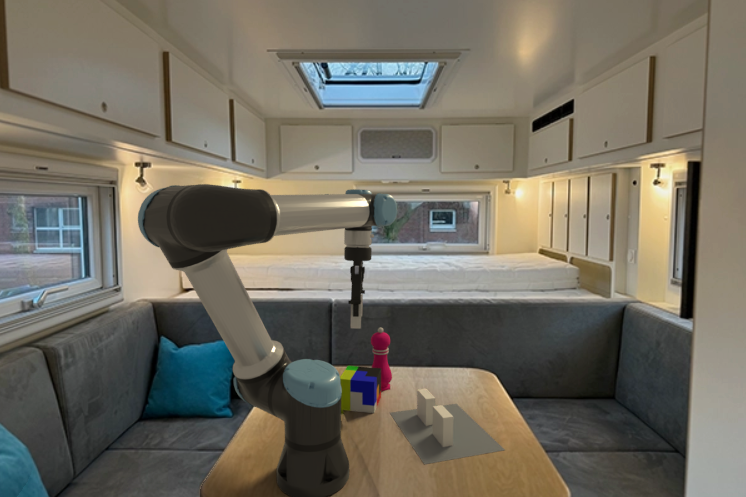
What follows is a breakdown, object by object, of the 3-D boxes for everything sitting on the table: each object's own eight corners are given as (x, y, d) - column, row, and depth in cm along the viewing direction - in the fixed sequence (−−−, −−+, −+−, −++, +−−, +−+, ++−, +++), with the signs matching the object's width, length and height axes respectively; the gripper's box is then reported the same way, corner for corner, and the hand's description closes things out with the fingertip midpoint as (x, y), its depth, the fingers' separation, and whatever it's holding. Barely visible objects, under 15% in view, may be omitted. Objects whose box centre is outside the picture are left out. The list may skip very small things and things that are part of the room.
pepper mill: (378, 383, 135) (378, 323, 133) (396, 389, 131) (397, 327, 129) (363, 390, 130) (364, 327, 128) (382, 397, 125) (382, 332, 123)
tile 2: (453, 445, 97) (453, 416, 97) (442, 447, 97) (443, 418, 96) (442, 432, 103) (442, 405, 103) (432, 433, 102) (432, 406, 102)
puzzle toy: (374, 417, 113) (374, 381, 112) (338, 413, 115) (338, 378, 114) (380, 401, 123) (381, 368, 122) (348, 398, 125) (348, 365, 124)
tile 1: (435, 424, 107) (435, 397, 106) (425, 425, 106) (426, 399, 106) (426, 413, 113) (426, 388, 112) (416, 414, 112) (417, 389, 111)
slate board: (505, 454, 96) (505, 450, 96) (424, 469, 90) (424, 464, 90) (456, 407, 119) (456, 403, 119) (389, 416, 113) (389, 412, 113)
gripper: (371, 249, 103) (369, 334, 104) (371, 243, 128) (370, 312, 129) (340, 249, 103) (339, 333, 104) (347, 243, 128) (346, 311, 129)
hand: (356, 321), depth 117 cm, fingers open, 13 cm apart
